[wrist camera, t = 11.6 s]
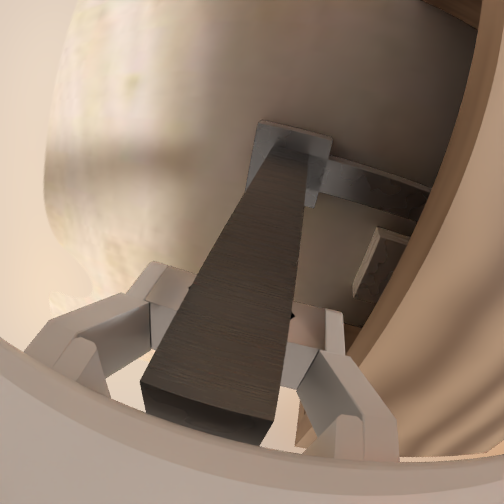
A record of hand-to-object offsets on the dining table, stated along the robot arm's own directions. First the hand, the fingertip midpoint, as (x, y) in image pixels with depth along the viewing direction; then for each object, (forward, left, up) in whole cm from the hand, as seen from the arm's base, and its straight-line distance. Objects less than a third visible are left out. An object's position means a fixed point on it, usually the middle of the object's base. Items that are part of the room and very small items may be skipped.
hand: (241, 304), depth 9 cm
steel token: (+11, -6, -16) cm, 21 cm away
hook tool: (+7, -4, -16) cm, 18 cm away
